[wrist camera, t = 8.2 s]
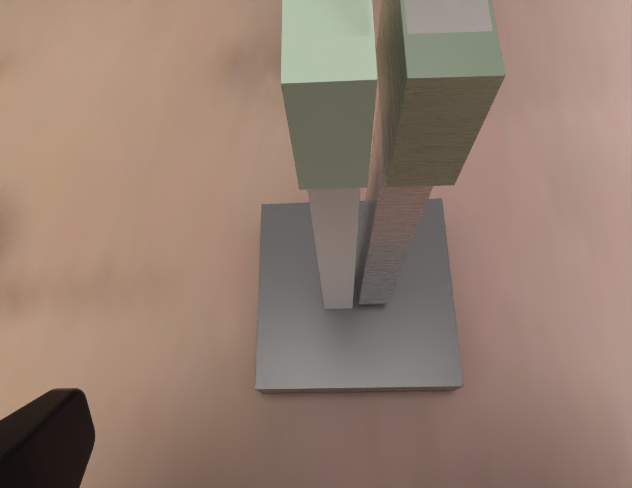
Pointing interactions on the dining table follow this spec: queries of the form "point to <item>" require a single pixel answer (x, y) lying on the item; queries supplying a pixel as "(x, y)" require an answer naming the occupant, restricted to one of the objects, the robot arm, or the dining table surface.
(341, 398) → the dining table surface
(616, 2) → the dining table surface
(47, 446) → the robot arm
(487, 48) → the swinging tong arm
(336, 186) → the stand
